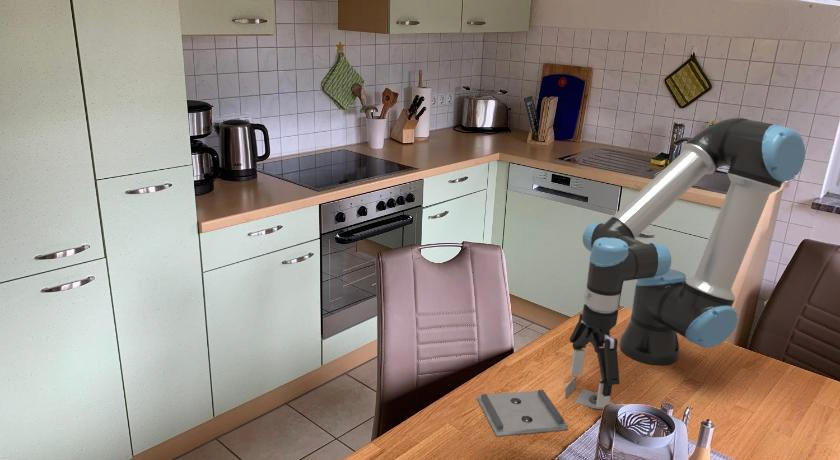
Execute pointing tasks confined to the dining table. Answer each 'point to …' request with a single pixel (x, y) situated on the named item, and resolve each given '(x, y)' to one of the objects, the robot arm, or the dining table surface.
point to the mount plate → (521, 413)
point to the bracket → (583, 395)
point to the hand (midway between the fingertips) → (588, 389)
